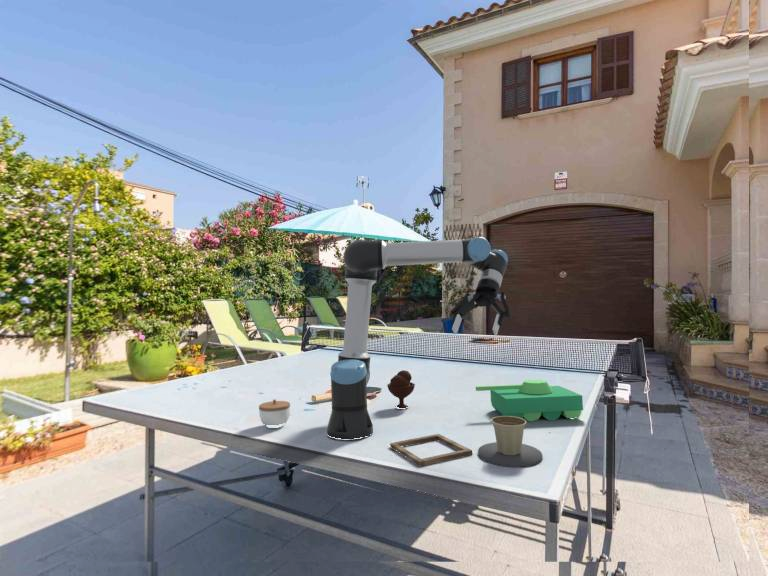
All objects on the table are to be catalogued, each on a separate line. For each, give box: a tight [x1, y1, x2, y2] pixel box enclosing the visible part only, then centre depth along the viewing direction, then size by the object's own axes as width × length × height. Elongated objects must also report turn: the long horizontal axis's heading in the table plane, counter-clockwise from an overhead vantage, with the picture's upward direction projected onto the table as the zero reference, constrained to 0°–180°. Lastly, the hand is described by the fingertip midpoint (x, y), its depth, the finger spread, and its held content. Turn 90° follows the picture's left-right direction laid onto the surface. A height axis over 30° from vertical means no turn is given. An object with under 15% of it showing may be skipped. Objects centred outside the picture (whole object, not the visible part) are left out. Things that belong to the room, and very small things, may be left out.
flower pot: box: [490, 415, 527, 456], centre depth 119 cm, size 9×9×9 cm
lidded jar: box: [258, 399, 291, 426], centre depth 153 cm, size 11×11×9 cm
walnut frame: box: [389, 433, 473, 467], centre depth 124 cm, size 17×17×1 cm
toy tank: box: [475, 379, 584, 422], centre depth 158 cm, size 18×12×35 cm
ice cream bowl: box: [386, 369, 416, 408], centre depth 173 cm, size 11×11×15 cm
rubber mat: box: [477, 441, 543, 468], centre depth 119 cm, size 17×17×1 cm
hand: (473, 332), depth 137 cm, fingers open, 13 cm apart
